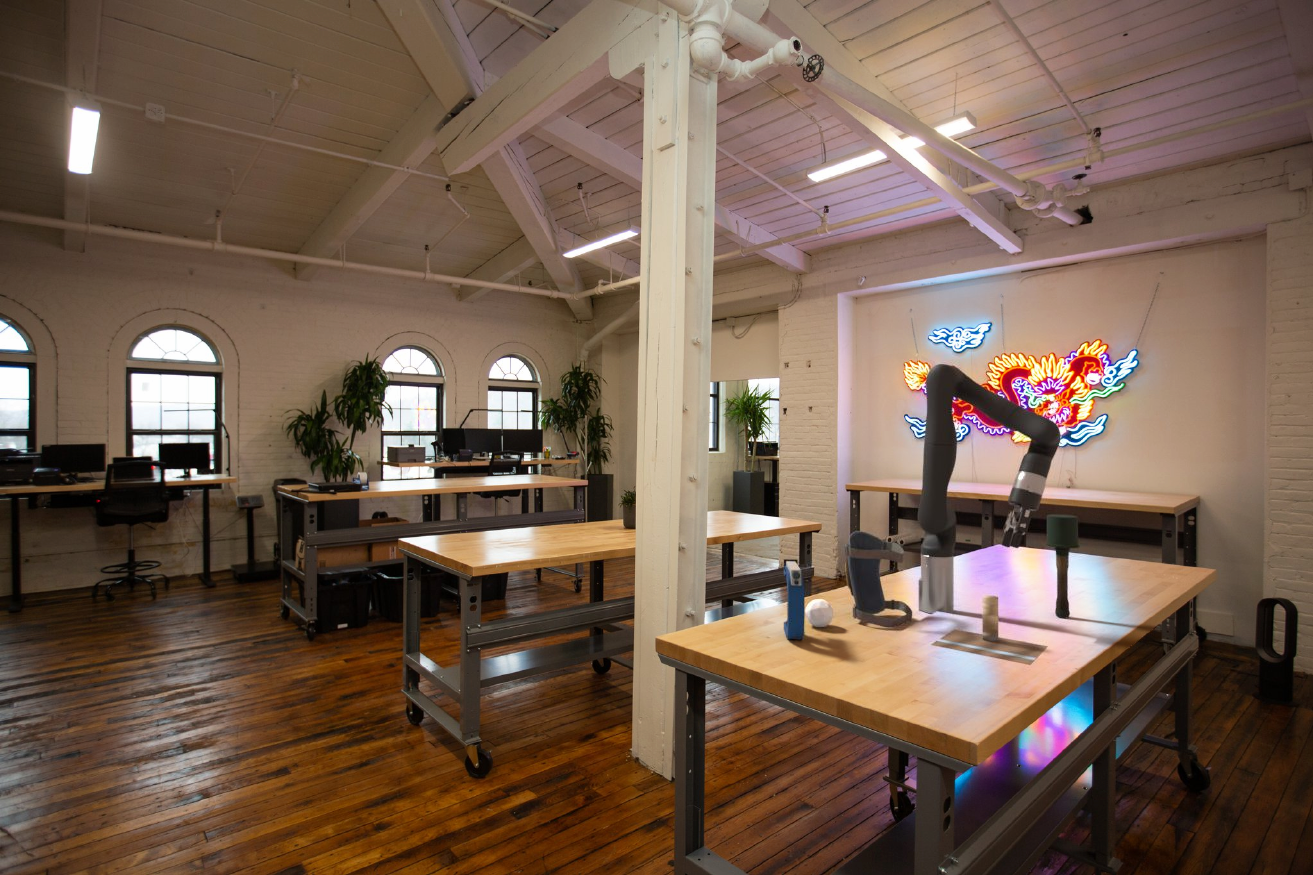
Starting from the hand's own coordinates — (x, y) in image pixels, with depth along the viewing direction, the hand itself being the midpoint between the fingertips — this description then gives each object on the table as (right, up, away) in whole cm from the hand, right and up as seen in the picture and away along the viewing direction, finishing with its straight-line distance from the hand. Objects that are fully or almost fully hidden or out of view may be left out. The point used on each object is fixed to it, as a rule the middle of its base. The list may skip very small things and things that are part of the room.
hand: (1009, 546), depth 180 cm
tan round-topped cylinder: (-11, -22, -12) cm, 27 cm away
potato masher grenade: (+24, -24, +15) cm, 37 cm away
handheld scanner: (-60, -23, -4) cm, 65 cm away
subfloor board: (-14, -23, -17) cm, 32 cm away
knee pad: (-32, -24, +13) cm, 42 cm away
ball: (-51, -24, +5) cm, 56 cm away
